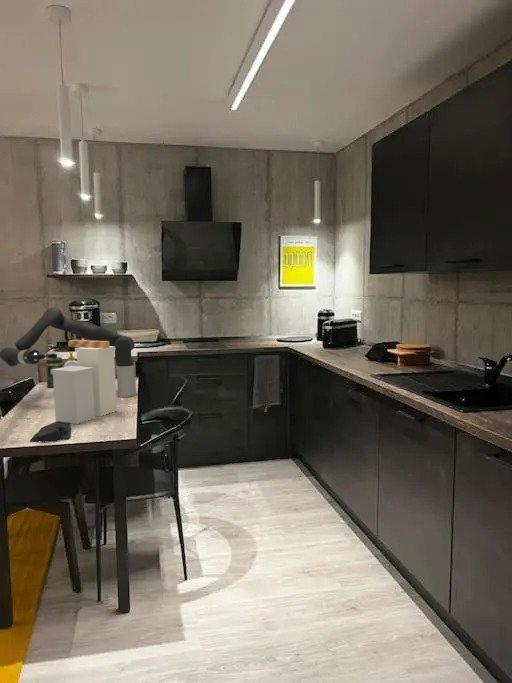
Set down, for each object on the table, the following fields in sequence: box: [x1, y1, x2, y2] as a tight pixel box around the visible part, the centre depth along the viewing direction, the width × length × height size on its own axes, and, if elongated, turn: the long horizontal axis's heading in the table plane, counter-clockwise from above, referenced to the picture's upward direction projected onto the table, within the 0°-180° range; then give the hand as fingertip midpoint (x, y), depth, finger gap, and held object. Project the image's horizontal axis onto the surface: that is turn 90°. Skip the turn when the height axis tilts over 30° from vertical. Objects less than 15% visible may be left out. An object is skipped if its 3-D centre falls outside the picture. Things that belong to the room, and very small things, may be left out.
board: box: [67, 339, 110, 348], centre depth 244 cm, size 22×4×3 cm, turn 65°
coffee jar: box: [45, 356, 64, 389], centre depth 315 cm, size 10×8×19 cm
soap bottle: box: [63, 351, 77, 367], centre depth 304 cm, size 9×7×23 cm
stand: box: [74, 345, 118, 417], centre depth 244 cm, size 14×12×32 cm
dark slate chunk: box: [29, 421, 72, 443], centre depth 210 cm, size 15×22×5 cm
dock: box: [51, 366, 96, 425], centre depth 231 cm, size 14×12×24 cm
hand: (49, 356), depth 253 cm, fingers open, 8 cm apart
